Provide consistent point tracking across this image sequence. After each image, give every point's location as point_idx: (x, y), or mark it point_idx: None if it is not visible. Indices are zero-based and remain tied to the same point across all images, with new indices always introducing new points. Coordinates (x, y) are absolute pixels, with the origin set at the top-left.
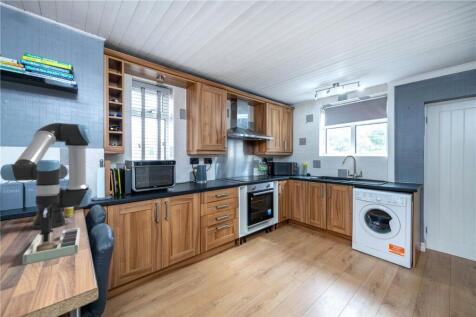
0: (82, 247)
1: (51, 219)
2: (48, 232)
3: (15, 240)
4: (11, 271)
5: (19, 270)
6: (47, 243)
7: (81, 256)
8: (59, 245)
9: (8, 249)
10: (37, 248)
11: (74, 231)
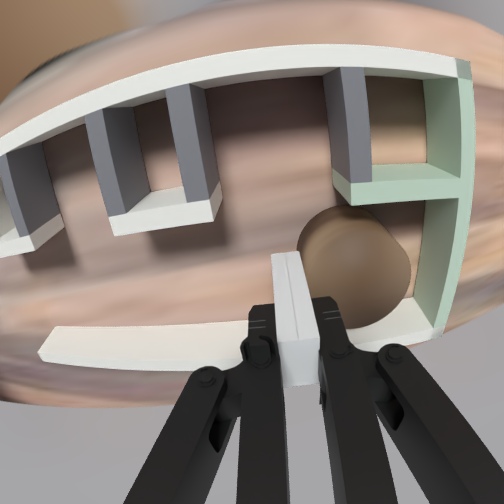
0: (322, 31)
1: (178, 486)
2: (407, 353)
3: (57, 389)
4: (459, 314)
5: (472, 291)
6: (318, 286)
7: (483, 56)
8: (405, 187)
9: (152, 399)
10: (383, 313)
11: (11, 171)
